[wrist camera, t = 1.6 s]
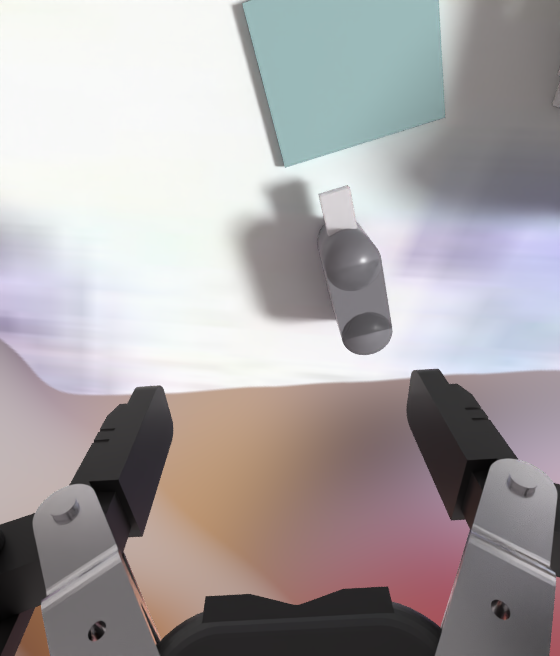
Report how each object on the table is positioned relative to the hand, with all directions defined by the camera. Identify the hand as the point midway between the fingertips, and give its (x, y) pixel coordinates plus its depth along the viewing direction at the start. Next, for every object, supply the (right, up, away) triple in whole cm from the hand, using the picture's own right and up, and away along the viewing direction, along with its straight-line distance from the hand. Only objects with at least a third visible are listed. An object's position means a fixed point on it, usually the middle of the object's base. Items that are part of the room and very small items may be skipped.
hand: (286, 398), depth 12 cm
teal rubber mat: (+5, +20, +14) cm, 25 cm away
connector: (+5, +8, +21) cm, 23 cm away
